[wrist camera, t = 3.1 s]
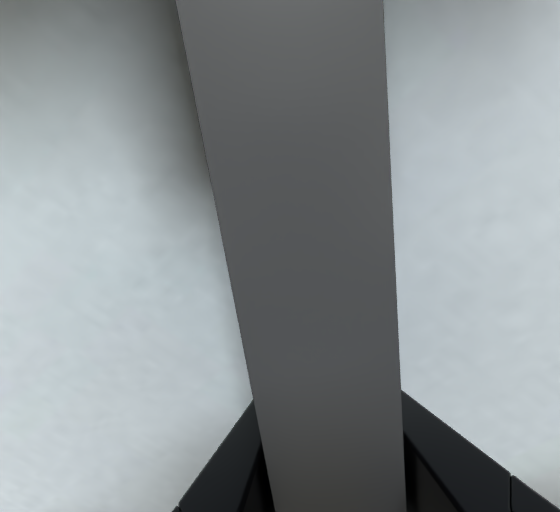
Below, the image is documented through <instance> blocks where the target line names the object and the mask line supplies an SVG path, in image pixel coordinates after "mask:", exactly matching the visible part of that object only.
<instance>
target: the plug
mask: <svg viewBox="0 0 560 512" xmlns="http://www.w3.org/2000/svg"><path fill="white" fill-rule="evenodd" d="M176 5H177V10H178V15H179V21H180V26H181V31H182V36H183V41H184V46H185V51H186V56H187V62H188V67H189V72H190V77H191V82H192V87H193V92H194V97H195V103H196V108H197V113H198V118H199V123H200V128H201V133H202V138H203V143H204V149H205V154H206V159H207V164H208V169H209V174H210V179H211V184H212V190H213V195H214V200H215V205H216V210H217V215H218V220H219V225H220V231H221V236H222V241H223V246H224V251H225V256H226V261H227V266H228V272H229V277H230V282H231V287H232V292H233V297H234V302H235V307H236V313H237V318H238V323H239V328H240V333H241V338H242V343H243V348H244V353H245V359H246V364H247V369H248V374H249V379H250V384H251V389H252V394H253V400H254V405H255V410H256V415H257V420H258V425H259V430H260V435H261V441H262V446H263V451H264V456H265V461H266V466H267V471H268V476H269V482H270V487H271V492H272V497H273V502H274V507H275V512H406V490H405V469H404V447H403V425H402V403H401V382H400V360H399V338H398V316H397V294H396V273H395V251H394V229H393V207H392V186H391V164H390V142H389V120H388V99H387V77H386V55H385V33H384V11H383V0H176Z"/></svg>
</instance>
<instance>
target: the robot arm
mask: <svg viewBox="0 0 560 512" xmlns="http://www.w3.org/2000/svg"><path fill="white" fill-rule="evenodd" d="M401 403H402V425H403V447H404V469H405V490H406V512H560V509H559V508H557V507H556V506H554V505H553V504H552V503H550V502H549V501H548V500H546V499H545V498H544V497H542V496H541V495H539V494H538V493H537V492H535V491H534V490H533V489H531V488H530V487H529V486H527V485H526V484H525V483H523V482H522V481H521V480H519V479H518V478H517V477H516V476H513V475H512V476H511V474H510V472H509V471H507V470H506V469H505V468H503V467H502V466H501V465H499V464H498V463H497V462H496V461H494V460H493V459H492V458H490V457H489V456H488V455H486V454H485V453H484V452H482V451H481V450H480V449H478V448H477V447H476V446H474V445H473V444H472V443H471V442H469V441H468V440H467V439H465V438H464V437H463V436H461V435H460V434H459V433H457V432H456V431H455V430H453V429H452V428H451V427H450V426H448V425H447V424H446V423H444V422H443V421H442V420H440V419H439V418H438V417H436V416H435V415H434V414H432V413H431V412H430V411H428V410H427V409H426V408H425V407H423V406H422V405H421V404H419V403H418V402H417V401H415V400H414V399H413V398H411V397H410V396H409V395H407V394H406V393H405V392H403V391H402V390H401ZM178 506H179V507H178ZM178 506H176V507H175V508H174V510H173V511H172V512H275V507H274V502H273V497H272V492H271V487H270V482H269V476H268V471H267V466H266V461H265V456H264V451H263V446H262V441H261V435H260V430H259V425H258V420H257V415H256V410H255V405H254V400H253V401H252V402H251V403H250V405H249V406H248V408H247V409H246V410H245V412H244V413H243V414H242V416H241V417H240V419H239V420H238V421H237V423H236V424H235V425H234V427H233V428H232V430H231V431H230V432H229V434H228V435H227V437H226V438H225V439H224V441H223V442H222V443H221V445H220V446H219V448H218V449H217V450H216V452H215V453H214V455H213V456H212V457H211V459H210V460H209V461H208V463H207V464H206V466H205V467H204V468H203V470H202V471H201V472H200V474H199V475H198V477H197V478H196V479H195V481H194V482H193V484H192V485H191V486H190V488H189V489H188V490H187V492H186V493H185V495H184V496H183V497H182V499H181V500H180V502H179V503H178Z"/></svg>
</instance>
